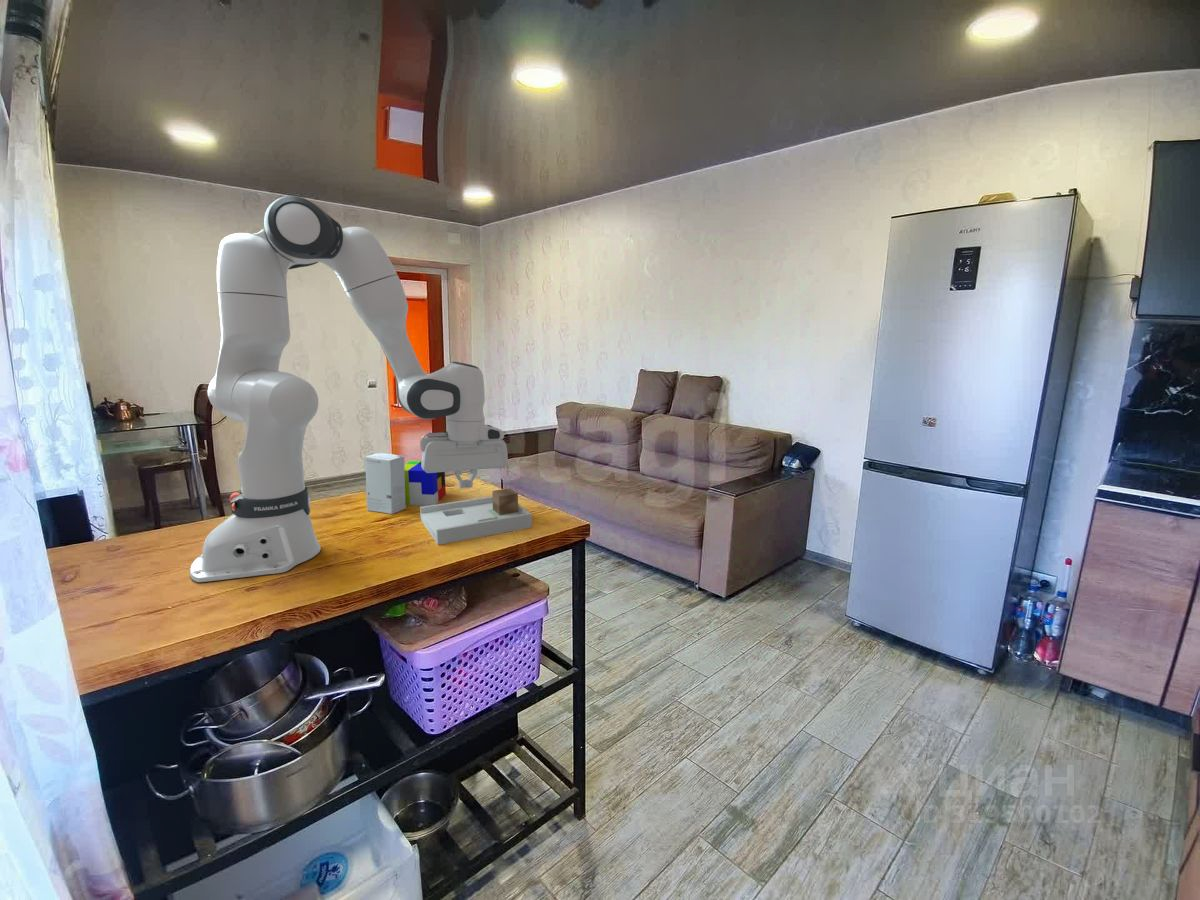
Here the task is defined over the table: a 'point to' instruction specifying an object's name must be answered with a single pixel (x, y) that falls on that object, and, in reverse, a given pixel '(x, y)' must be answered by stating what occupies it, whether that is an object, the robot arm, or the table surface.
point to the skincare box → (385, 483)
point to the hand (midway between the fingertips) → (465, 487)
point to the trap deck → (470, 520)
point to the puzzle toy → (423, 485)
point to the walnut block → (505, 501)
